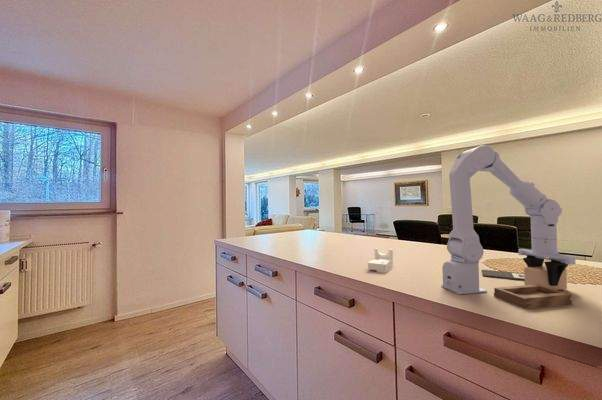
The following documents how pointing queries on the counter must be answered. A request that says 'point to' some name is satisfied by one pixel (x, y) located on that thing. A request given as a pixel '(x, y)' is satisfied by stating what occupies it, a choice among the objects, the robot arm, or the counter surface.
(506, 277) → the chocolate bar
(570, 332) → the counter surface
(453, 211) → the robot arm
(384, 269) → the bracket
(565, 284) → the clay block
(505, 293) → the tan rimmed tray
